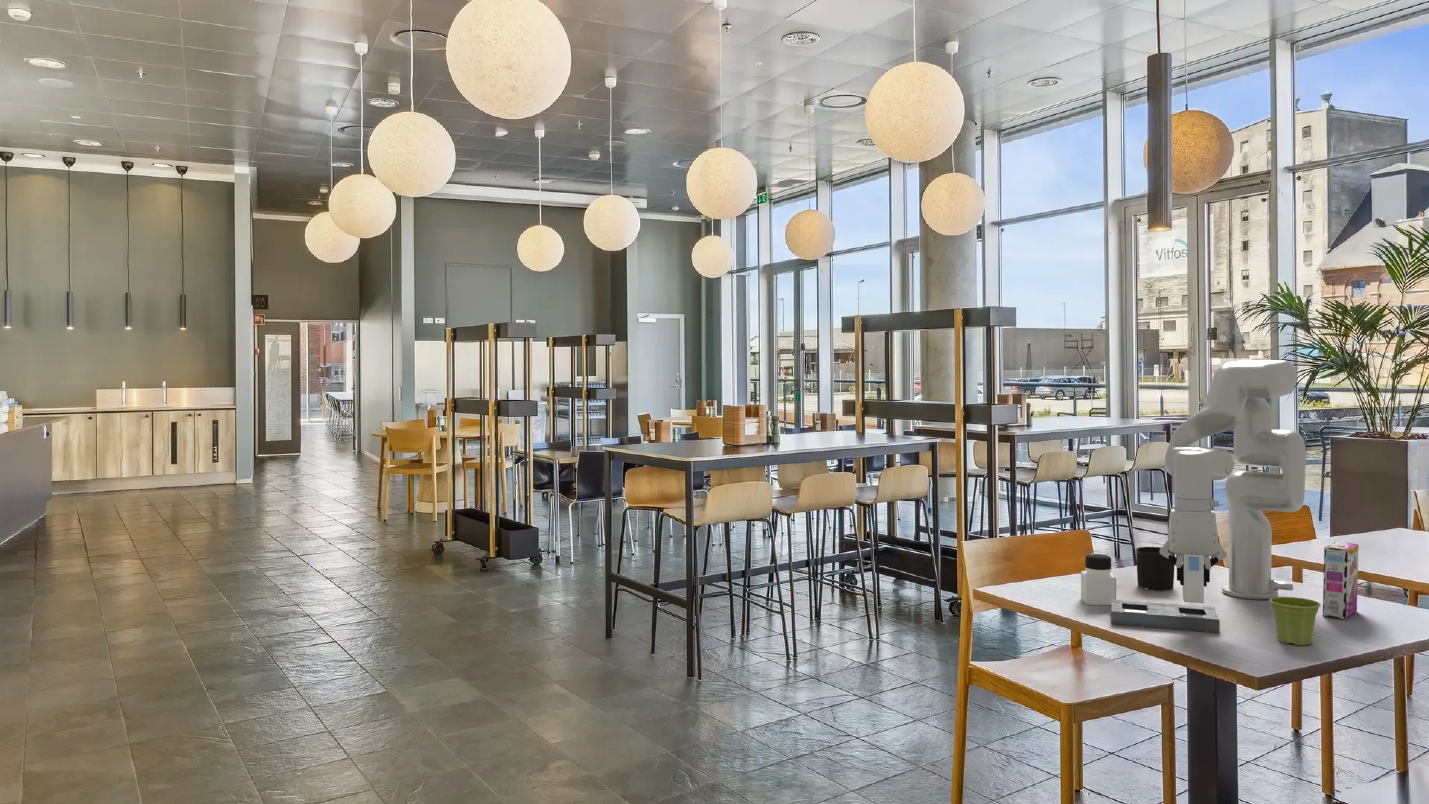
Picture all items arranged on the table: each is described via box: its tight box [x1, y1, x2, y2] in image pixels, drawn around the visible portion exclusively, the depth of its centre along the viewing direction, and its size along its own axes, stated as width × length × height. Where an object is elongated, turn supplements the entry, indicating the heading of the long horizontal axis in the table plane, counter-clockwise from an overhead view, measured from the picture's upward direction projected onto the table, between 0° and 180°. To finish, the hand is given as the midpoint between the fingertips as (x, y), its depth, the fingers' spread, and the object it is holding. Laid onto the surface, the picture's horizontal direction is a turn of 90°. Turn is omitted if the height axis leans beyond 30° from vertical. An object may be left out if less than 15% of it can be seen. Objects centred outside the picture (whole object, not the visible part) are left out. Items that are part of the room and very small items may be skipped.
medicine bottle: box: [1080, 553, 1117, 607], centre depth 240 cm, size 7×7×12 cm
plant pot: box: [1268, 596, 1322, 646], centre depth 204 cm, size 9×9×9 cm
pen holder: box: [1135, 546, 1176, 591], centre depth 255 cm, size 9×9×10 cm
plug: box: [1182, 554, 1205, 604], centre depth 218 cm, size 4×5×11 cm
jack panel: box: [1110, 599, 1221, 634], centre depth 221 cm, size 22×12×3 cm, turn 68°
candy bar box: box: [1322, 541, 1360, 620], centre depth 225 cm, size 11×5×16 cm, turn 134°
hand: (1193, 583), depth 219 cm, fingers closed on plug, 4 cm apart
